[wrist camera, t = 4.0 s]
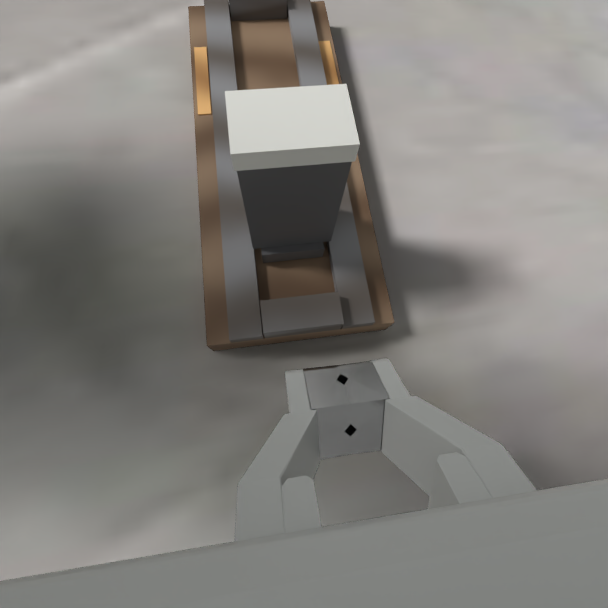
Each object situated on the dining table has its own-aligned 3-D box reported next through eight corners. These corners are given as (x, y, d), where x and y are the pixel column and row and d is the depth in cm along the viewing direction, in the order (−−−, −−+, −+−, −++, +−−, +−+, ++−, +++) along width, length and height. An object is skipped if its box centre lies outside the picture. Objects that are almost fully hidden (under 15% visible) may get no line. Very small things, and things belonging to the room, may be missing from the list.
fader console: (385, 329, 24) (402, 316, 21) (213, 350, 23) (200, 340, 19) (321, 25, 32) (326, -21, 29) (194, 30, 31) (182, -16, 28)
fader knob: (331, 256, 23) (361, 152, 14) (254, 264, 22) (231, 162, 13) (322, 204, 24) (344, 76, 15) (248, 211, 24) (224, 83, 14)
